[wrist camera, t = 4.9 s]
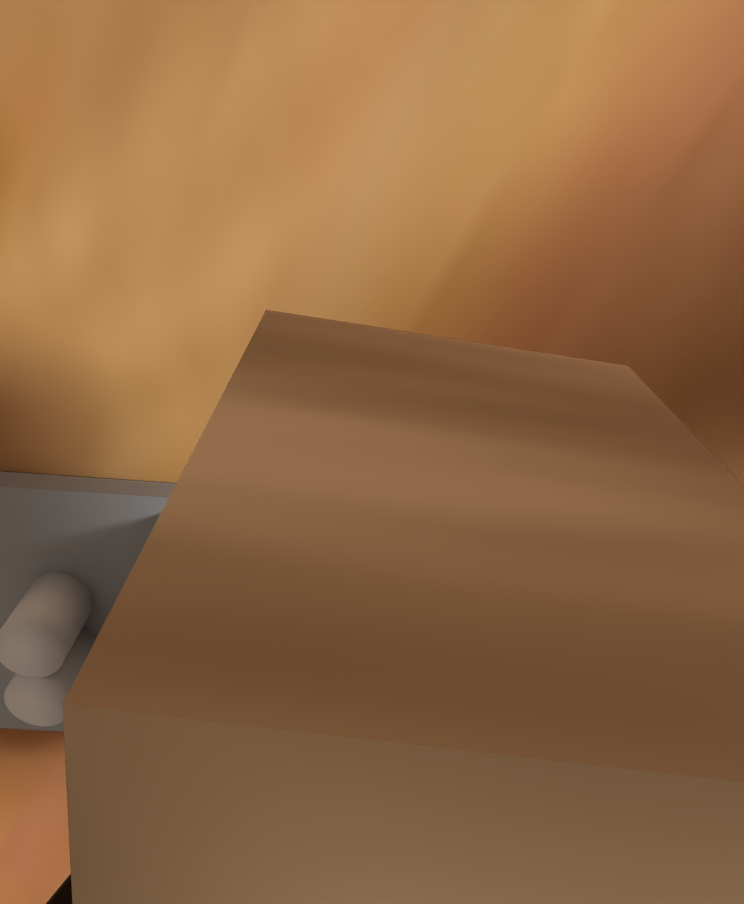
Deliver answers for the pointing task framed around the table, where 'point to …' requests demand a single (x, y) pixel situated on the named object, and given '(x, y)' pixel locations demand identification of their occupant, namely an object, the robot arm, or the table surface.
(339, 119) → the table surface
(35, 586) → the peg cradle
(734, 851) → the brown rectangular block
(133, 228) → the table surface
